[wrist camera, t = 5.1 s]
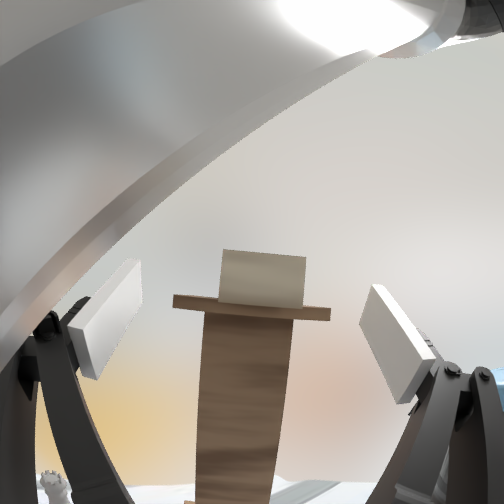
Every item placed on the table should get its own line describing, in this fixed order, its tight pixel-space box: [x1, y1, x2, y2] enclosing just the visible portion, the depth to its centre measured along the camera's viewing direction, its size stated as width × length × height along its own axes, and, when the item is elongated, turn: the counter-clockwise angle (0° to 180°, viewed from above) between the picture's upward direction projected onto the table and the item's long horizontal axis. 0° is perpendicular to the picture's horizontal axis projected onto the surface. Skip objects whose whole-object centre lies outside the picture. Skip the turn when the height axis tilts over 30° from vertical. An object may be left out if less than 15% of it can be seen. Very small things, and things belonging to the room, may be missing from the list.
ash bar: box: [218, 249, 306, 309], centre depth 24 cm, size 20×4×2 cm, turn 3°
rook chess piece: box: [40, 470, 70, 504], centre depth 17 cm, size 4×4×8 cm
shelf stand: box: [173, 295, 331, 504], centre depth 24 cm, size 10×12×30 cm
